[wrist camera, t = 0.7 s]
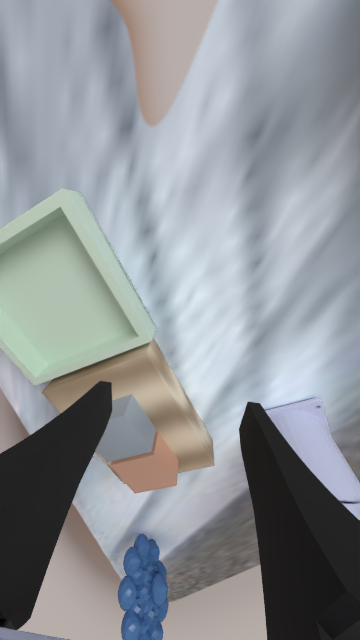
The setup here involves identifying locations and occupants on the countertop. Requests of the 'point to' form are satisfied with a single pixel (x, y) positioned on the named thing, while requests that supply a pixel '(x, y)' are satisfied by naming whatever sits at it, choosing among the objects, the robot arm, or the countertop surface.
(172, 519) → the countertop surface
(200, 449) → the birch board
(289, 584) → the robot arm
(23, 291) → the tray
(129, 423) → the slate tile
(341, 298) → the countertop surface
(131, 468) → the terracotta tile
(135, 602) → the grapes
